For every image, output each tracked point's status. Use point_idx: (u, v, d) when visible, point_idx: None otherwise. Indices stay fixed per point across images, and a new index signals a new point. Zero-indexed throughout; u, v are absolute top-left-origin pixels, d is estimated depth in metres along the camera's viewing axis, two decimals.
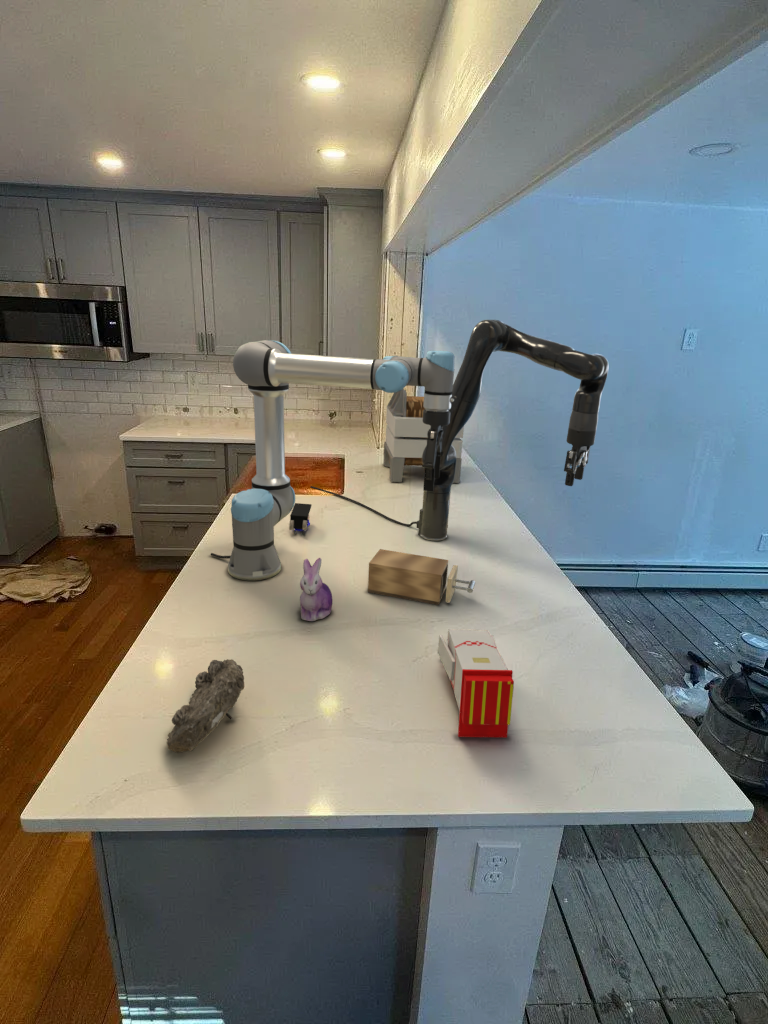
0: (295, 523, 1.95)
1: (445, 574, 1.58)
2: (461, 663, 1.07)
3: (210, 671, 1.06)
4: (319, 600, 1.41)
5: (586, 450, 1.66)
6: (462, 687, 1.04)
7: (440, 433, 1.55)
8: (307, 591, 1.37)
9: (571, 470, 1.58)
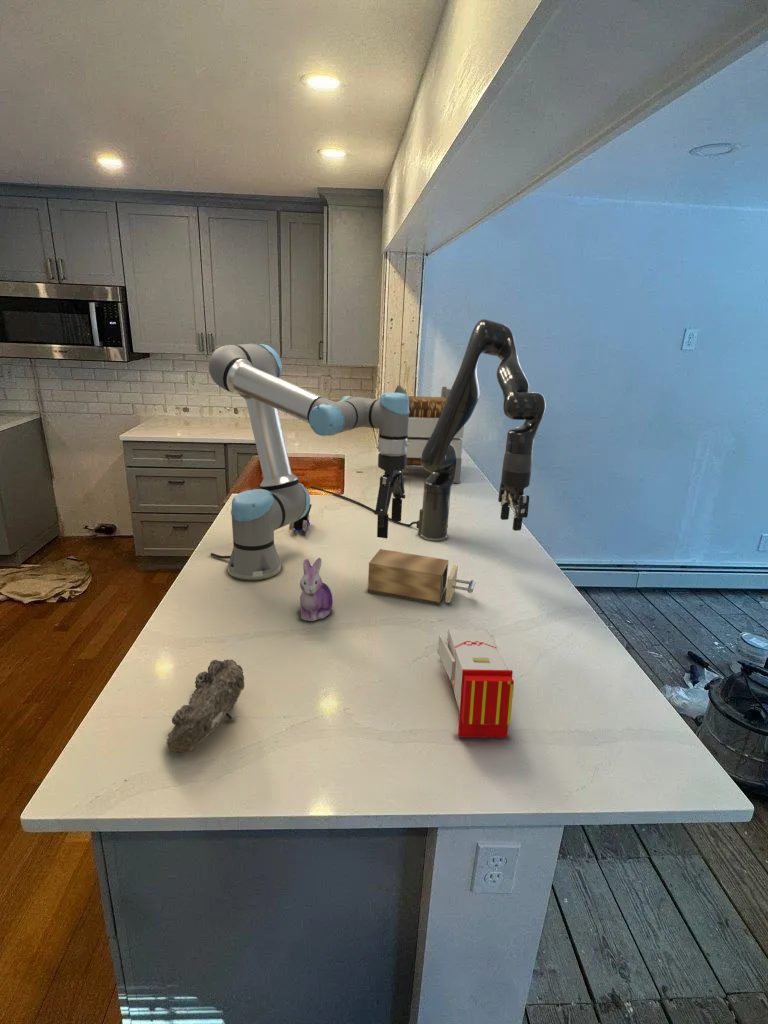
0: (295, 523, 1.95)
1: (445, 574, 1.58)
2: (461, 663, 1.07)
3: (210, 671, 1.06)
4: (319, 600, 1.41)
5: None
6: (462, 687, 1.04)
7: (395, 478, 1.49)
8: (307, 591, 1.37)
9: None
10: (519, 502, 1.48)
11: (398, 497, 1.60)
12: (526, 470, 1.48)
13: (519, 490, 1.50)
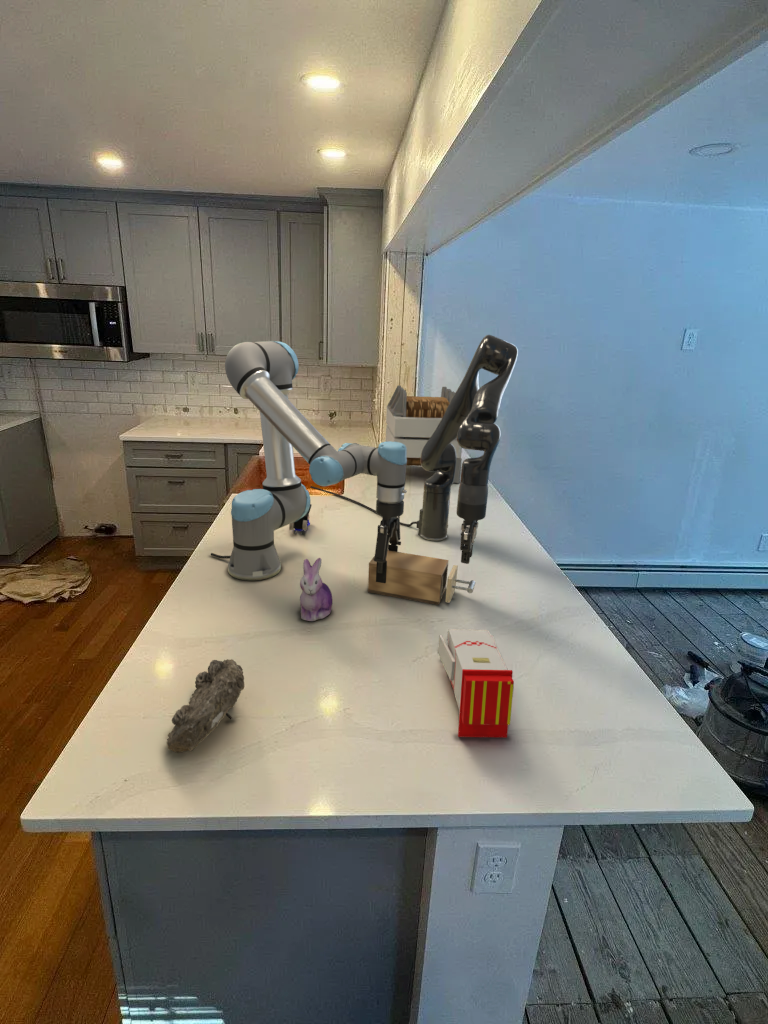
0: (295, 523, 1.95)
1: (445, 574, 1.58)
2: (461, 663, 1.07)
3: (210, 671, 1.06)
4: (319, 600, 1.41)
5: None
6: (462, 687, 1.04)
7: (393, 524, 1.53)
8: (307, 591, 1.37)
9: None
10: (461, 537, 1.44)
11: (394, 544, 1.63)
12: (474, 502, 1.43)
13: (467, 521, 1.44)
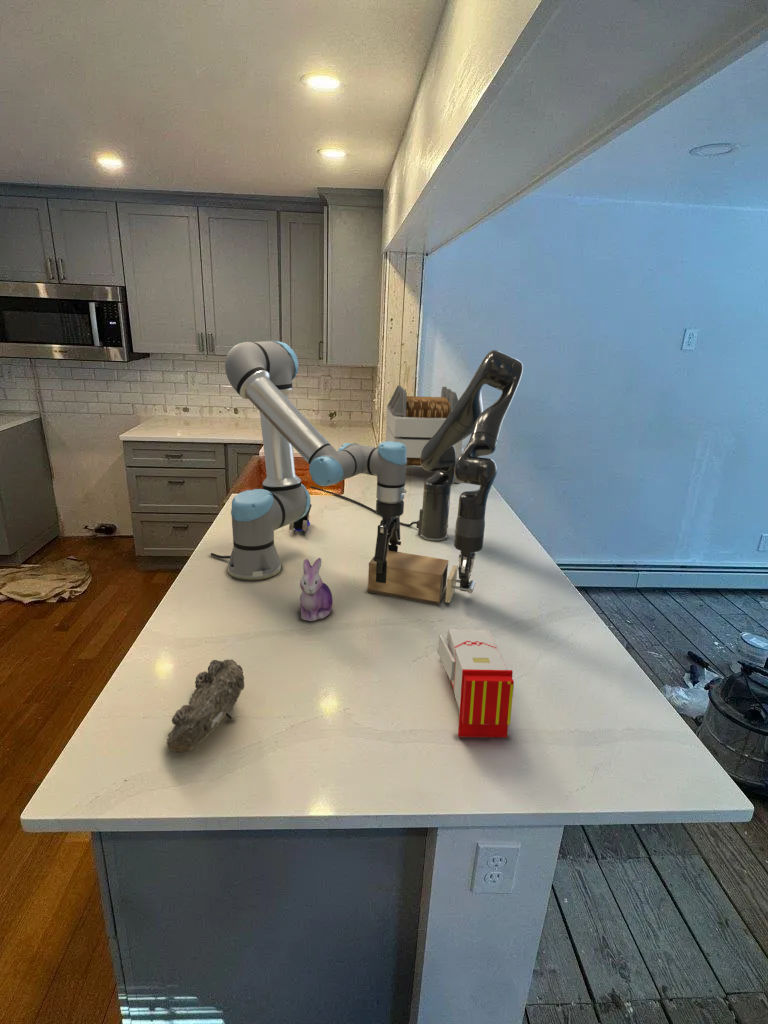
0: (295, 523, 1.95)
1: (445, 574, 1.58)
2: (461, 663, 1.07)
3: (210, 671, 1.06)
4: (319, 600, 1.41)
5: None
6: (462, 687, 1.04)
7: (393, 524, 1.53)
8: (307, 591, 1.37)
9: None
10: (459, 570, 1.48)
11: (394, 544, 1.63)
12: (471, 535, 1.46)
13: (464, 553, 1.47)
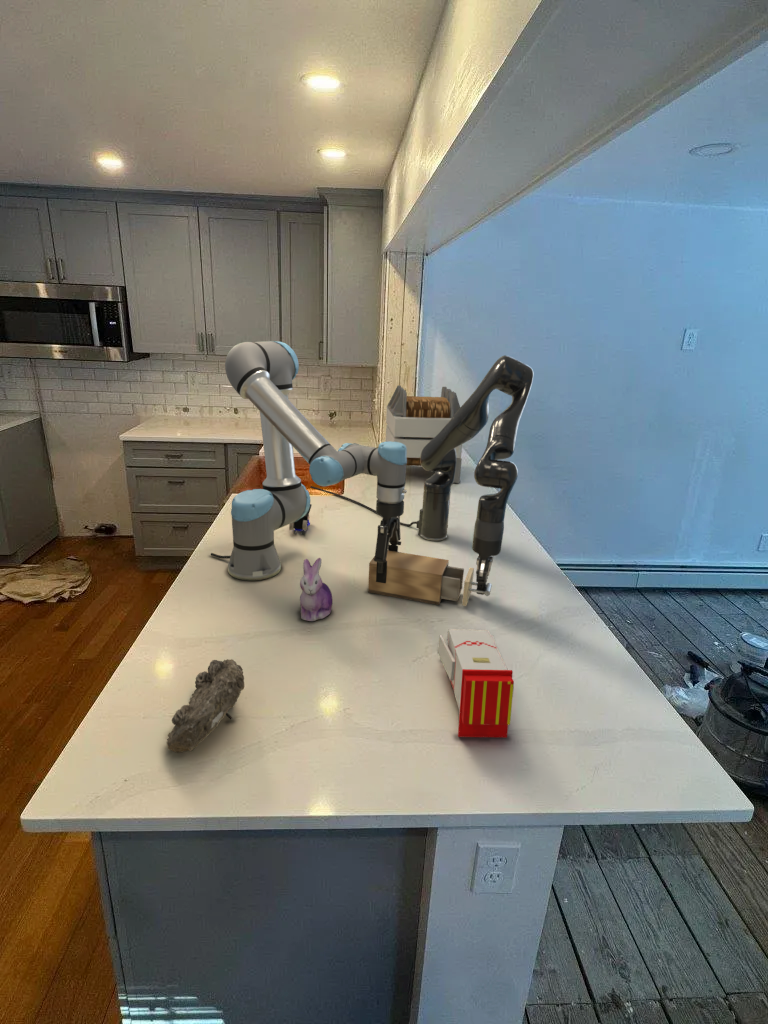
0: (295, 523, 1.95)
1: (461, 577, 1.57)
2: (461, 663, 1.07)
3: (210, 671, 1.06)
4: (319, 600, 1.41)
5: None
6: (462, 687, 1.04)
7: (393, 524, 1.53)
8: (307, 591, 1.37)
9: None
10: None
11: (394, 544, 1.63)
12: (490, 539, 1.44)
13: (483, 557, 1.46)
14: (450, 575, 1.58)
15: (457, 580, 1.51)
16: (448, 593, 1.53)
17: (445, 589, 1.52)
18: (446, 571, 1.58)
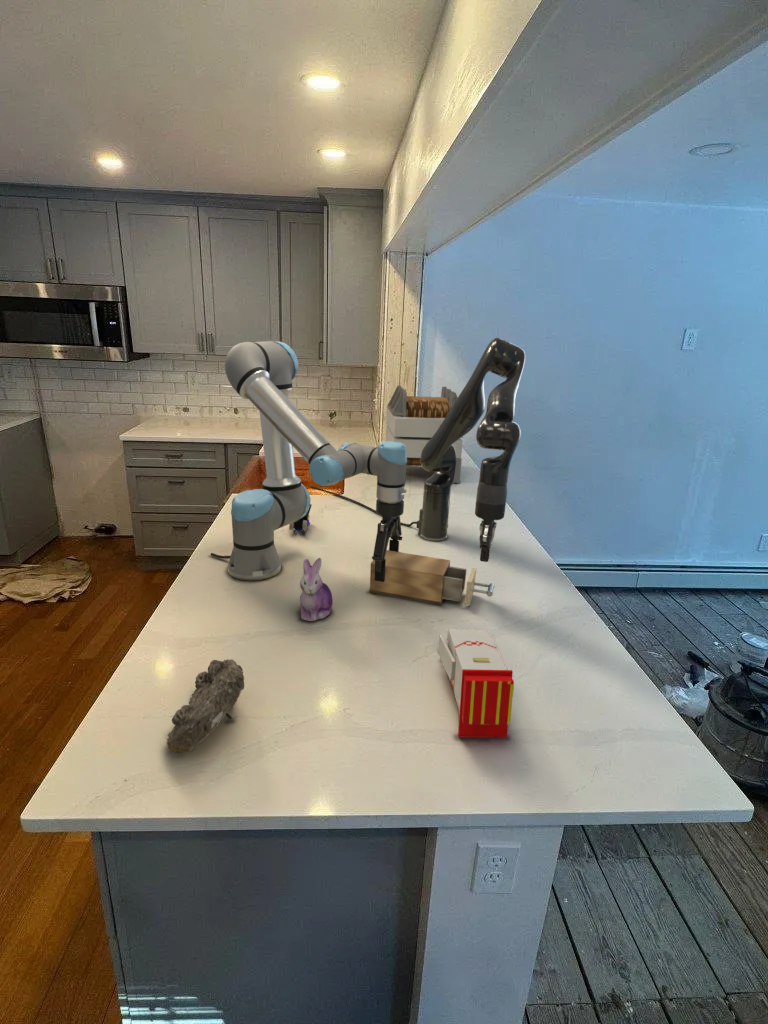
0: (295, 523, 1.95)
1: (463, 577, 1.57)
2: (461, 663, 1.07)
3: (210, 671, 1.06)
4: (319, 600, 1.41)
5: None
6: (462, 687, 1.04)
7: (393, 523, 1.53)
8: (307, 591, 1.37)
9: None
10: (480, 539, 1.44)
11: (395, 539, 1.64)
12: (493, 502, 1.41)
13: (486, 521, 1.43)
14: (452, 575, 1.58)
15: (459, 580, 1.50)
16: (450, 593, 1.52)
17: (447, 589, 1.52)
18: (448, 571, 1.58)
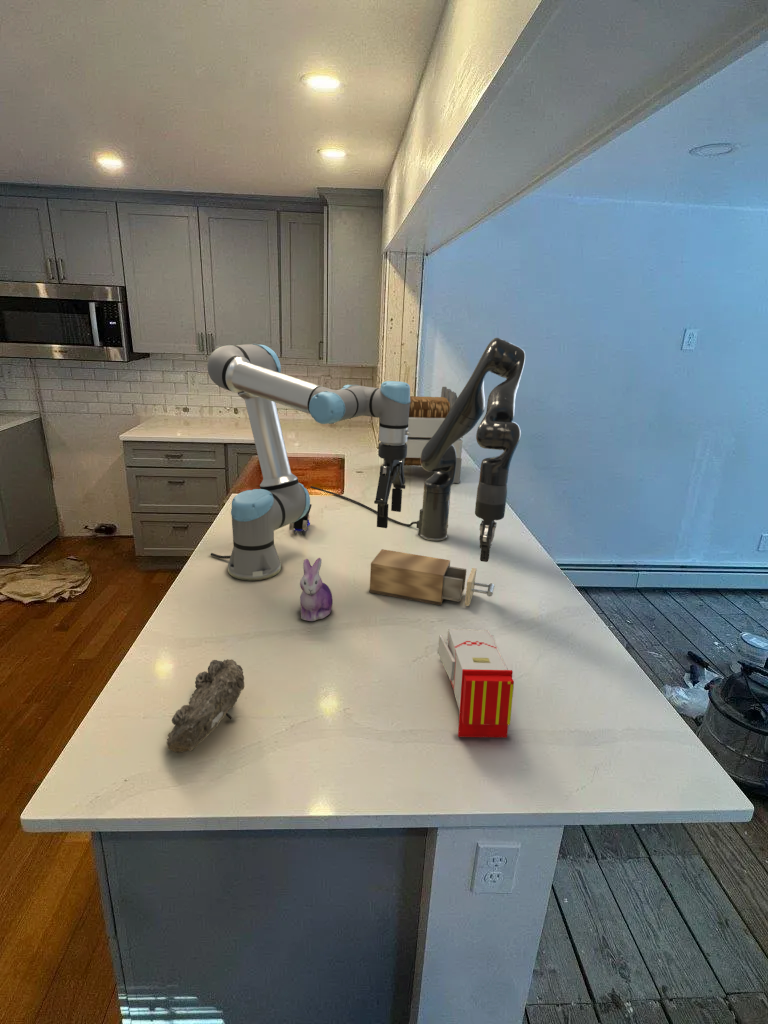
0: (295, 523, 1.95)
1: (464, 577, 1.57)
2: (461, 663, 1.07)
3: (210, 671, 1.06)
4: (319, 600, 1.41)
5: None
6: (462, 687, 1.04)
7: (396, 467, 1.48)
8: (307, 591, 1.37)
9: None
10: (480, 539, 1.44)
11: (398, 487, 1.59)
12: (493, 502, 1.41)
13: (486, 521, 1.43)
14: (452, 575, 1.58)
15: (460, 580, 1.50)
16: (450, 593, 1.52)
17: (447, 589, 1.52)
18: (448, 571, 1.58)
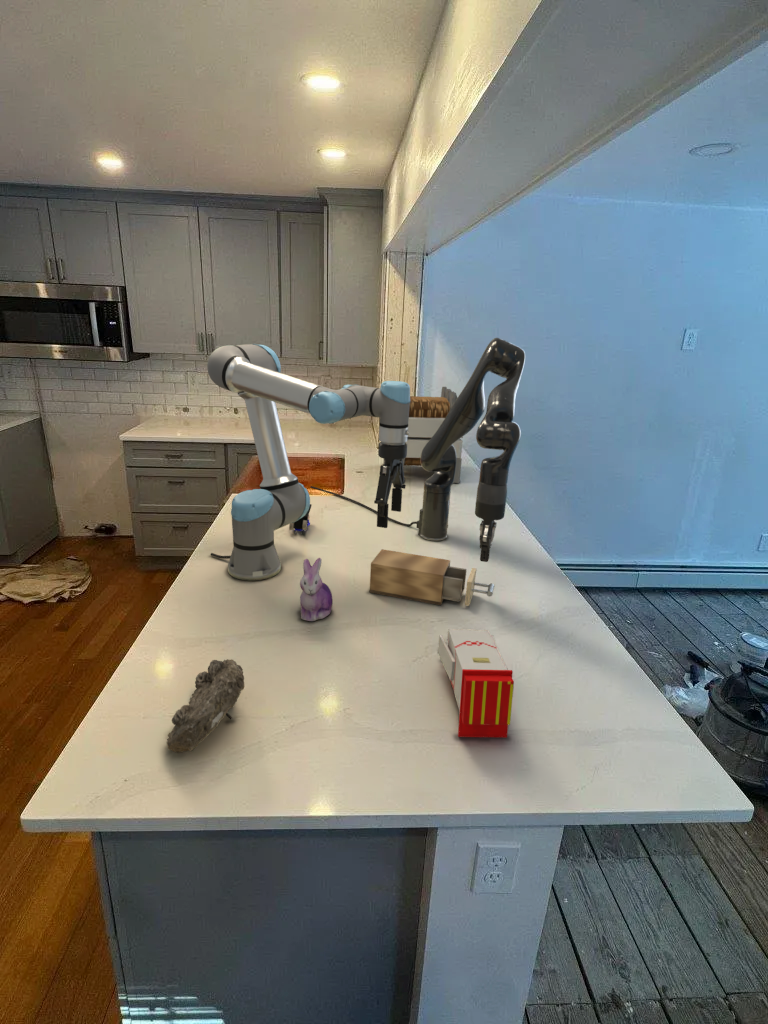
0: (295, 523, 1.95)
1: (464, 577, 1.57)
2: (461, 663, 1.07)
3: (210, 671, 1.06)
4: (319, 600, 1.41)
5: None
6: (462, 687, 1.04)
7: (396, 467, 1.48)
8: (307, 591, 1.37)
9: None
10: (480, 539, 1.44)
11: (398, 487, 1.59)
12: (493, 502, 1.41)
13: (486, 521, 1.43)
14: (452, 575, 1.58)
15: (460, 580, 1.50)
16: (450, 593, 1.52)
17: (447, 589, 1.52)
18: (448, 571, 1.58)
